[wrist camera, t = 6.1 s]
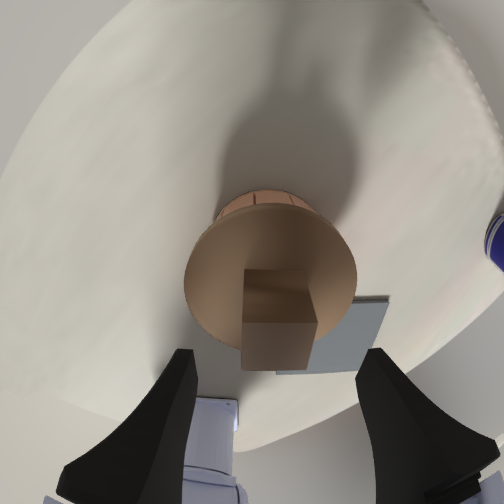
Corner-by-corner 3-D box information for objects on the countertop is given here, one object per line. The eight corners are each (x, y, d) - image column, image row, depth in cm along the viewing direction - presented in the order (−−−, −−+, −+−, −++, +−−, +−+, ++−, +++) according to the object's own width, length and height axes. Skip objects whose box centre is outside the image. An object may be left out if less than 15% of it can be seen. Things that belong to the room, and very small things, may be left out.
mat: (276, 371, 26) (276, 374, 26) (286, 300, 22) (286, 303, 22) (360, 367, 26) (361, 370, 26) (387, 299, 22) (389, 302, 22)
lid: (194, 339, 18) (182, 400, 14) (181, 200, 14) (148, 245, 9) (334, 340, 18) (351, 400, 14) (366, 208, 14) (411, 253, 9)
